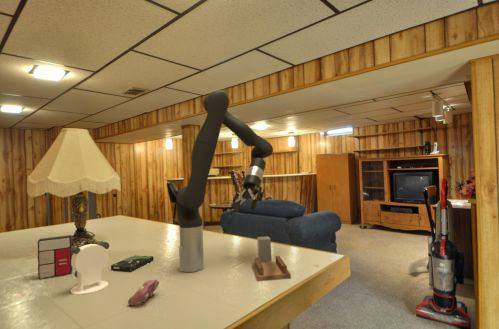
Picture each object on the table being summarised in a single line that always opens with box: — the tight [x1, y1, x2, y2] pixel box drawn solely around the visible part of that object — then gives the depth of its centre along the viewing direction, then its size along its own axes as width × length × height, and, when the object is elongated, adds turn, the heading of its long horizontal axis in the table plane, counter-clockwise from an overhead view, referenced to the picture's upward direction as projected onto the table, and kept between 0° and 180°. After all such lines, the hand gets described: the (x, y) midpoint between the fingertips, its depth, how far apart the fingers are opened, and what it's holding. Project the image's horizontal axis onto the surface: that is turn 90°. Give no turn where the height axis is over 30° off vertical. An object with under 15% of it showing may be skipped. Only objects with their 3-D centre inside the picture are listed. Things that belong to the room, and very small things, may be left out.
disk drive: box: [110, 254, 154, 273], centre depth 123 cm, size 10×3×15 cm
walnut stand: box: [251, 255, 292, 282], centre depth 108 cm, size 12×15×4 cm
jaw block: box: [256, 236, 273, 263], centre depth 121 cm, size 5×5×10 cm
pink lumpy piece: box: [127, 278, 160, 307], centre depth 89 cm, size 10×5×7 cm, turn 169°
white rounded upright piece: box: [70, 240, 110, 296], centre depth 101 cm, size 12×11×15 cm
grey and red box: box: [37, 234, 73, 280], centre depth 114 cm, size 11×4×15 cm, turn 118°
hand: (243, 210), depth 118 cm, fingers open, 8 cm apart
